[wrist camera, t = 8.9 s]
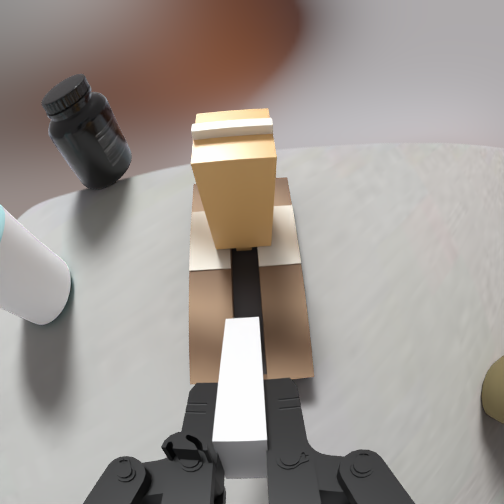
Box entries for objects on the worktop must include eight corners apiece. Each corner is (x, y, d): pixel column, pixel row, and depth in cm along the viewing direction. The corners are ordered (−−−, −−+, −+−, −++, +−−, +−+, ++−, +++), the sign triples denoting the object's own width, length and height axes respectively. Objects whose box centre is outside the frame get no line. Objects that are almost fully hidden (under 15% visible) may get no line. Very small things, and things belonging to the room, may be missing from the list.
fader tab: (270, 254, 22) (277, 147, 12) (218, 258, 22) (188, 154, 12) (266, 211, 24) (268, 100, 14) (218, 214, 24) (194, 106, 14)
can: (65, 333, 21) (-35, 286, 10) (19, 318, 21) (-66, 272, 10) (82, 262, 24) (4, 186, 13) (37, 256, 24) (-35, 193, 13)
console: (307, 377, 19) (314, 376, 17) (198, 384, 19) (189, 384, 17) (285, 195, 26) (287, 176, 24) (198, 201, 26) (193, 183, 24)
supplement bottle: (119, 139, 31) (85, 62, 20) (143, 164, 29) (105, 74, 18) (75, 172, 29) (29, 100, 18) (92, 202, 27) (36, 121, 16)
